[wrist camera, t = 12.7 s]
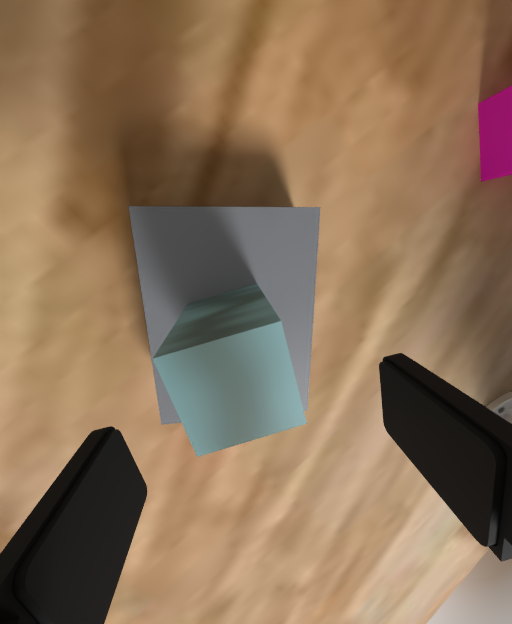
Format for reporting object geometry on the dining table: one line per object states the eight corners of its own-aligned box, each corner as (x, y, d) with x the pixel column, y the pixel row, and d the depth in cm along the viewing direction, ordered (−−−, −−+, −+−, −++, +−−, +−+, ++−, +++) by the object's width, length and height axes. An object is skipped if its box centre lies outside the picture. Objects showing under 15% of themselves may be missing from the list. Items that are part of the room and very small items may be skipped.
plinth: (294, 216, 21) (320, 207, 16) (289, 373, 26) (307, 410, 20) (156, 215, 20) (128, 206, 14) (176, 381, 25) (161, 424, 19)
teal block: (257, 283, 17) (281, 320, 9) (274, 346, 18) (306, 423, 11) (187, 303, 16) (152, 358, 9) (210, 365, 18) (197, 456, 10)
